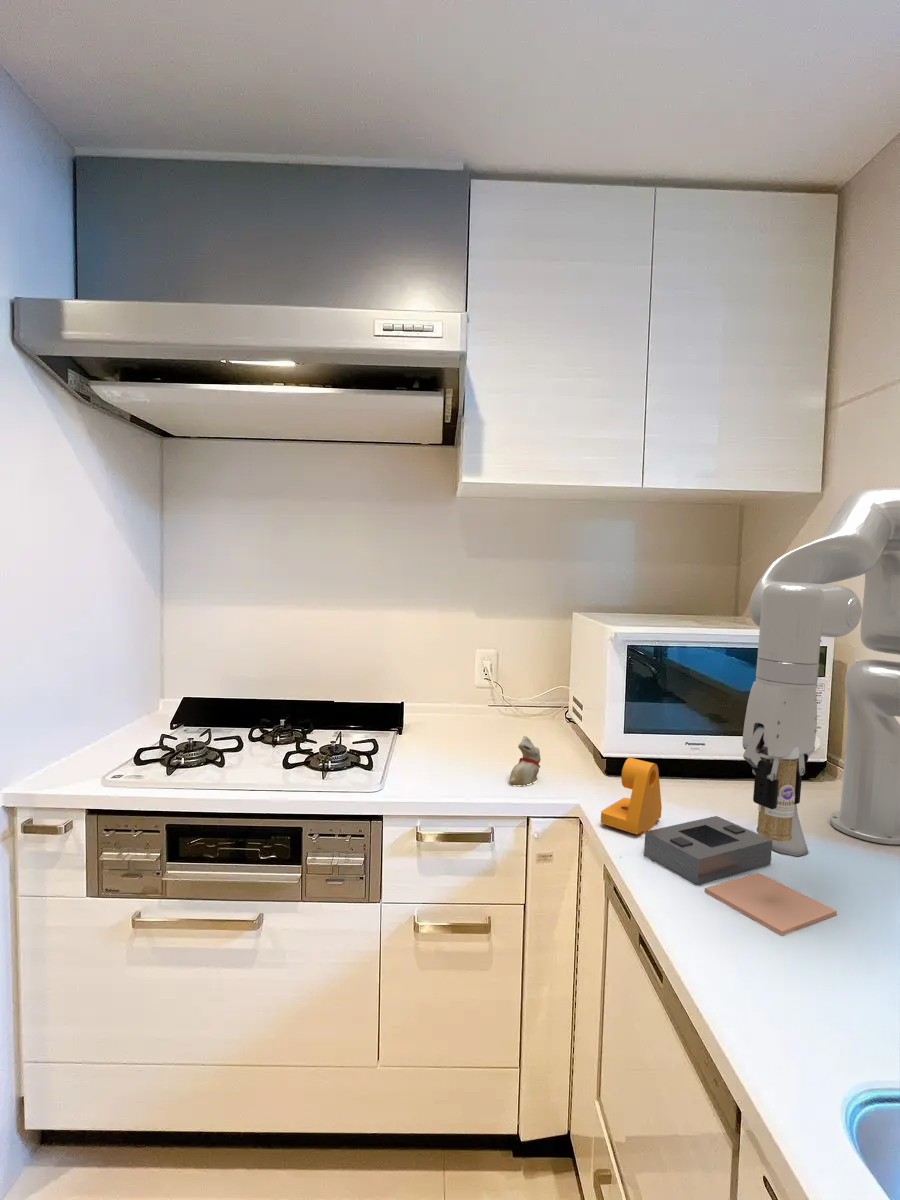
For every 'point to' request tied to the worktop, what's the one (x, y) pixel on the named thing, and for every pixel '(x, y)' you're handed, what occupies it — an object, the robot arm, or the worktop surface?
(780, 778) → the sprinkles bottle
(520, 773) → the chocolate bunny
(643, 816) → the bracket
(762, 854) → the socket bar
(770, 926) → the coaster
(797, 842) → the flask
